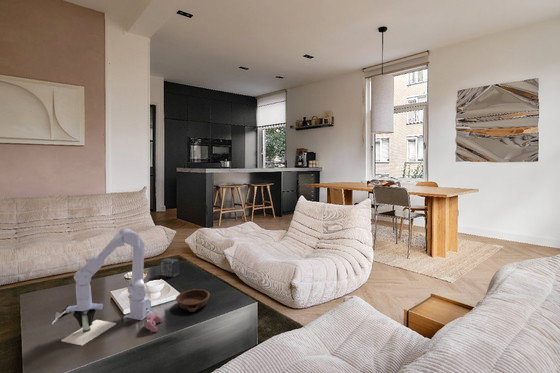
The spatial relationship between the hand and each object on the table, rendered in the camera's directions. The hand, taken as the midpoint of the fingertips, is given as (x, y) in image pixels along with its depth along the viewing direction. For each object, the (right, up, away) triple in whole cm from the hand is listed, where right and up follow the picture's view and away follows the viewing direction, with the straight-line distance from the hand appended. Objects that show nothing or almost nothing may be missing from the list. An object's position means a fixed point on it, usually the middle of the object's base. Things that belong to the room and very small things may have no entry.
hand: (86, 325), depth 144 cm
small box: (+15, +4, +68) cm, 69 cm away
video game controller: (+30, -2, +3) cm, 30 cm away
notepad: (+2, -3, 0) cm, 4 cm away
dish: (+42, 0, +25) cm, 49 cm away
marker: (0, -2, 0) cm, 2 cm away
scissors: (-23, -2, +17) cm, 29 cm away
